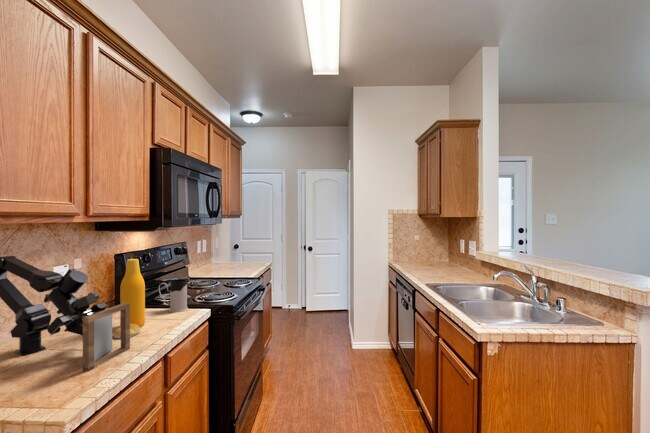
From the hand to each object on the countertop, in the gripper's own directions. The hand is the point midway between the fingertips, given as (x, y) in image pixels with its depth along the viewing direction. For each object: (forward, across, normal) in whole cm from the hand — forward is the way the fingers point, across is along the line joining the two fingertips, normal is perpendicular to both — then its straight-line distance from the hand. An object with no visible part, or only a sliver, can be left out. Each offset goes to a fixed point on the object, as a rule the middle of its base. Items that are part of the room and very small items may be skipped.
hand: (95, 334), depth 109 cm
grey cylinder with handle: (+2, +52, +8) cm, 52 cm away
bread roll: (+3, +18, +7) cm, 20 cm away
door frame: (+10, -3, 0) cm, 10 cm away
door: (+6, -3, +3) cm, 7 cm away
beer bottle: (0, +27, +10) cm, 29 cm away
